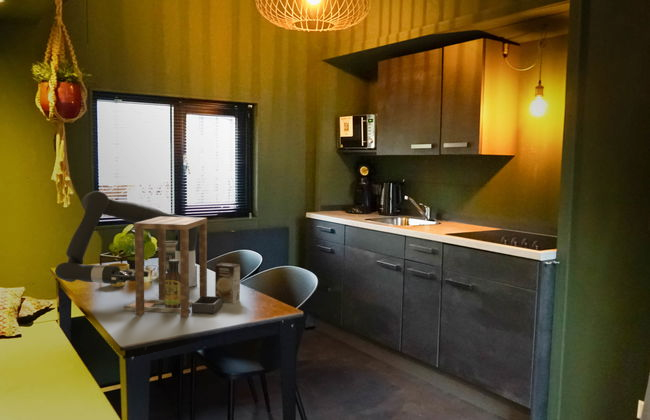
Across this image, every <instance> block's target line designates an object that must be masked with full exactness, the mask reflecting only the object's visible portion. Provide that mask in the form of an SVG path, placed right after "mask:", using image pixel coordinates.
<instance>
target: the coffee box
mask: <svg viewBox="0 0 650 420" xmlns="http://www.w3.org/2000/svg"><path fill="white" fill-rule="evenodd" d="M214 269H215V273H214V275H215V278H214V280H215V285H214V290H215V291H214V294H215V295H214V297H223V303H224V304H230V305H234V304H236V303H238V302H239V301H240V300H241V299H240V295H241V294H240V293H241V290H240V289H241V288H240V287H241V264H239V263H228V262H221V263H217V264H216V265H215V267H214Z"/></svg>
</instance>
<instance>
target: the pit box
mask: <svg viewBox="0 0 650 420" xmlns="http://www.w3.org/2000/svg"><path fill="white" fill-rule="evenodd" d="M223 305H224V304H223V297H215V295H214V296H210V295H207V296H201V297H200V296H199V297H198V298H197V299H195V300H194V302H193V303H192V306H191V314H196V315H197V314H200V315H215V314H216V313H217V312H218V311H219V310H220V309H222V308H223Z"/></svg>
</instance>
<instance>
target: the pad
mask: <svg viewBox="0 0 650 420" xmlns="http://www.w3.org/2000/svg"><path fill="white" fill-rule="evenodd" d="M155 305H157V304H156V303H146V302H144V307H154V306H155ZM128 306H136V301H135V302H133V303H131V304H129V305H128Z"/></svg>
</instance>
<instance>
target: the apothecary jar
mask: <svg viewBox="0 0 650 420" xmlns="http://www.w3.org/2000/svg"><path fill="white" fill-rule="evenodd" d="M177 243H178V240H166V275H167V274H168V272H169V260H171V259H175V245H176V244H177Z"/></svg>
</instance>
